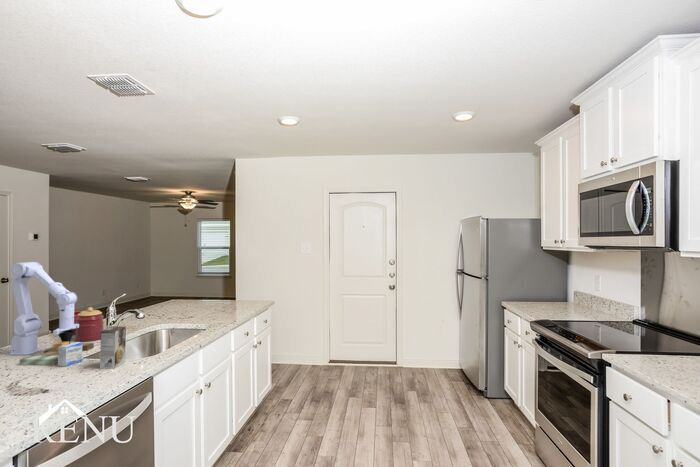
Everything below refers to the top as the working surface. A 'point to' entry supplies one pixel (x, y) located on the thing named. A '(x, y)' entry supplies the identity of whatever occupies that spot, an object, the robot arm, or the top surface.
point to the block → (56, 345)
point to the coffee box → (112, 347)
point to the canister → (89, 325)
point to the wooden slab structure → (48, 356)
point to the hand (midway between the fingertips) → (66, 346)
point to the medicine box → (69, 354)
